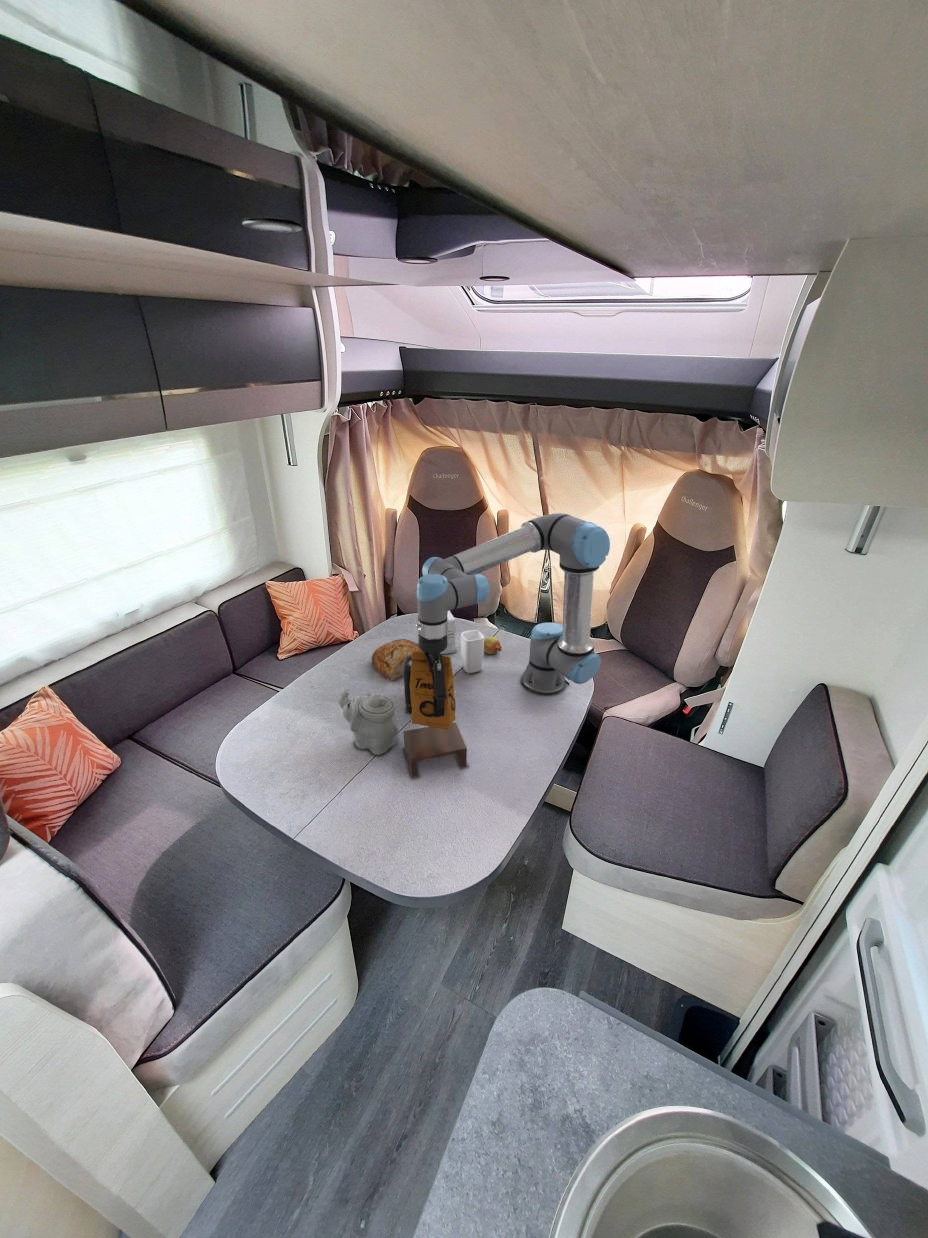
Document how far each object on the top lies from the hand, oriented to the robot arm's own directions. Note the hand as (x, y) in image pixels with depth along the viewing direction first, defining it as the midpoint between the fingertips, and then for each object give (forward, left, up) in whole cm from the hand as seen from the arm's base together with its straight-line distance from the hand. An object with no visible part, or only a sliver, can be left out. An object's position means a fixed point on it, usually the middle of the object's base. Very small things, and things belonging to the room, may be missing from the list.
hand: (433, 702), depth 141 cm
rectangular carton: (+10, -62, -20) cm, 66 cm away
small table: (0, 0, -20) cm, 20 cm away
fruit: (-10, -63, -20) cm, 67 cm away
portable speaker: (+10, -21, -20) cm, 31 cm away
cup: (-4, -49, -20) cm, 53 cm away
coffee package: (0, 0, -6) cm, 6 cm away
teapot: (+21, -4, -20) cm, 29 cm away
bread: (+24, -48, -20) cm, 57 cm away
